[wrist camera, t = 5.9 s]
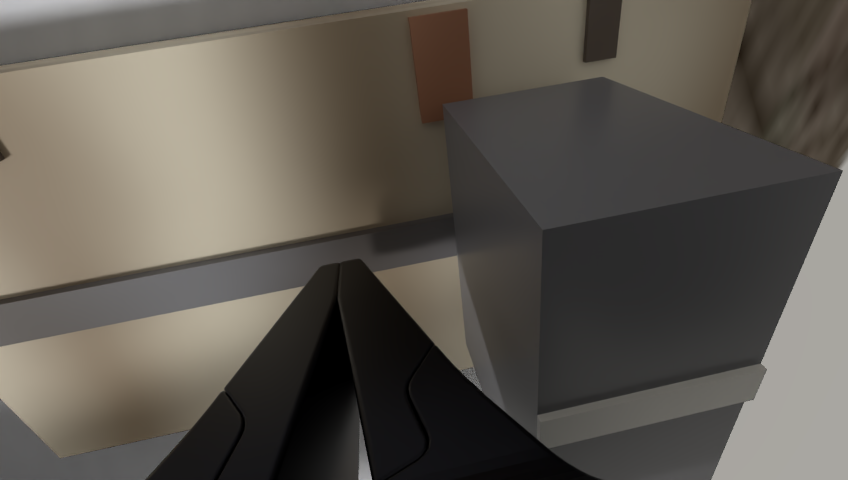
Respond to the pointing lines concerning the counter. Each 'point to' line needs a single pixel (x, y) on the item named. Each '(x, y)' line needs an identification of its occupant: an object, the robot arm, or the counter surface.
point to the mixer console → (271, 184)
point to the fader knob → (623, 268)
